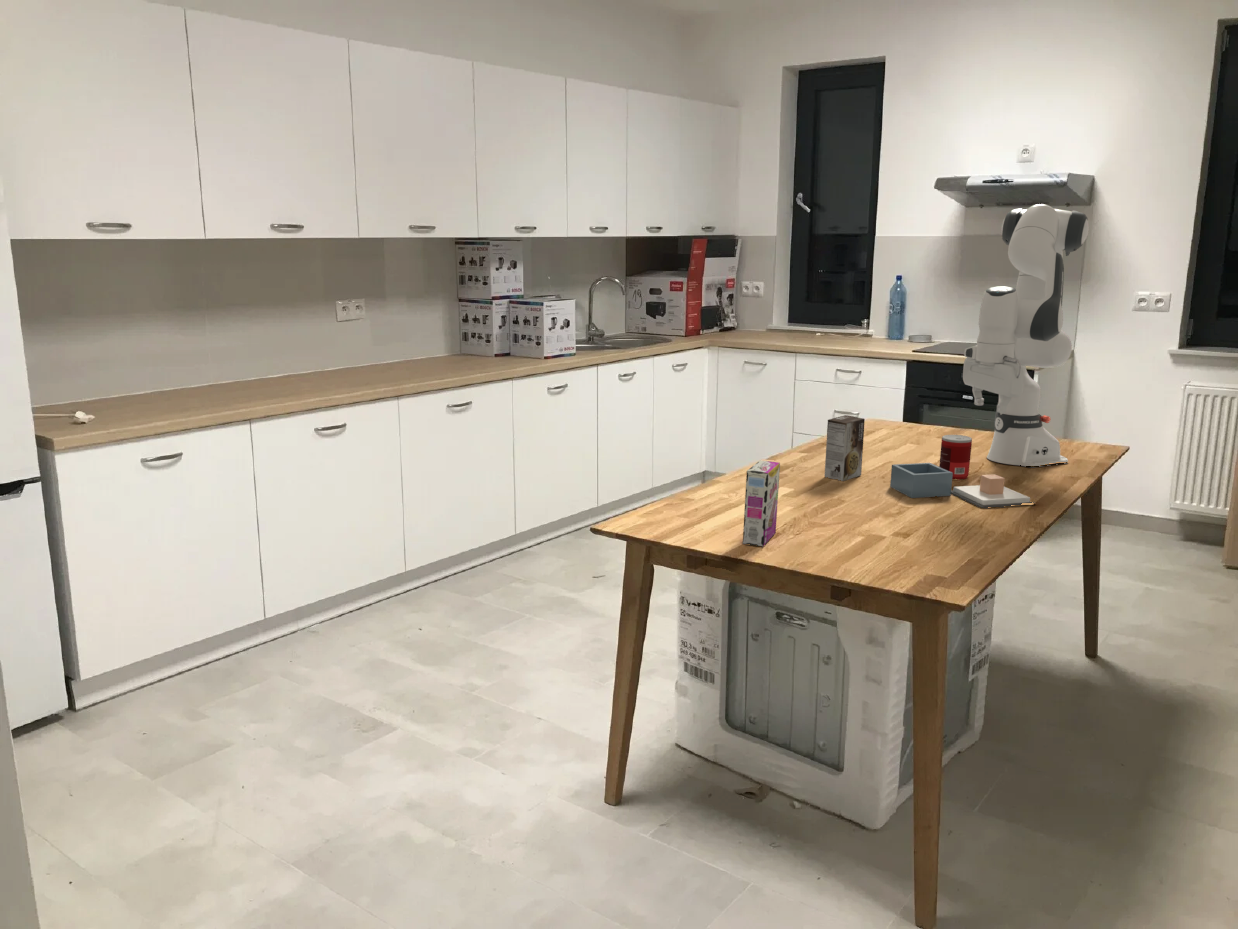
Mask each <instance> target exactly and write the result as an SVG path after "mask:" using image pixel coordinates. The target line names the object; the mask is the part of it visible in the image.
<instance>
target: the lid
mask: <svg viewBox="0 0 1238 929" xmlns="http://www.w3.org/2000/svg"><path fill="white" fill-rule="evenodd" d="M1005 479H1006V478H1005V477H1003V476H1000V475H997V474H995V473H994V474H981V475H980V481H979V482H980V483H979V485H978V484H977V485H963V486H953V491H954V492H956V493H958V494H960V495H962V496H964V497H967V498H969V499H971V500H973V501H975V502H977V503H979V504H981V505H994V504H1011V503H1027V502H1030V501H1031V497H1030V496H1027V495H1026V494H1022V493H1020V492H1018V491H1015V490H1014V489H1011V488H1008V487H1006V486H1005Z"/></svg>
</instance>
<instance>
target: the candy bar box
mask: <svg viewBox="0 0 1238 929" xmlns="http://www.w3.org/2000/svg"><path fill="white" fill-rule="evenodd" d="M780 469H781V463H780V462H777V461H769V460H759V461H757V462H756V463H755V464H753V465H752V466H751V467H749V469H747V470H746V478H745V479H746V480H745V494H744V514H743V529H742V530H743V532H742V533H743V534H742V545H745V544H750V545H749V546H751V545H757V546H756V547H758V546H762V547H761V548H764V547H765V546H764V545H767V544H768V543H769V541H770V540H771V539H772V538H773V537H774V535H775V534H776V531H777V518H778V517H777V515H778V514H777V513H778V502H779V501H778V500H779V499H778V498H779V488H780V487H779V486H780V485H779V484H780ZM770 538H771V539H770ZM769 539H770V540H769ZM763 546H764V547H763Z"/></svg>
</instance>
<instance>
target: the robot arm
mask: <svg viewBox="0 0 1238 929" xmlns="http://www.w3.org/2000/svg"><path fill="white" fill-rule="evenodd" d="M1088 220H1089V219H1088V217H1087V215H1086V214H1085V213H1083V212H1081V211H1077V210H1072V211H1070V210H1065V209H1060V208H1059V209H1058V208H1053V207H1052V206H1050V205H1048V204H1044V203H1041V204H1040V203H1039V204H1038V203H1037V204H1033V205H1031V206H1029V207H1028V208H1026V209H1024V208H1023V207H1021V208H1015V209H1011V210H1010V211H1009V212H1007V213H1006V215H1005V217H1004V218H1003V221H1002V223H1001V229H1000V230H1001V231H1000V233H1001V237H1002V238H1001V239H1002V241H1003V242H1004V243H1005V245H1007V246H1008V249H1007V250H1008V251H1007V256H1008V260H1009V261H1010V262H1009V263H1010V264H1011V265H1012V266H1013V267H1014V268H1015V269H1016V270H1017V271H1019V272H1018V277H1017V281H1016V286H1015V288H1014V287H1012V286H1006V285H1005V286H1003V285H1002V286H1001V285H999V286H991V287H989V288H987V289H986V290H984V292H983V296H982V298H981V299H982V300H981V303H980V308H979V315H978V328H979V329H978V330H979V334H978V336H977V338H976V339H977V340H976V345H973V346H969V347H967V348H964V352H963V356H964V357H965V359H964V361H963V368H962V369H963V370H962V380H963V383H964V385H966V386H968V387H969V386H970V387H972V394H973V397H974V400H973V401H974V402H973V404H974V405H975V406H979V407H980V406H984V404H985V403H984V402H985V398H983V391H987V392H989V393H993V394H997V395H998V402H997V404H996V410H995V417H994V433H993V438H992V440H991V445H990V449H989V451H988V454H987V456H986V458H987V459H988V460H989V461H992V462H995V463H998V464H999V463H1000V464H1004V465H1013V466H1020V465H1021V467H1026V466H1039V467H1041V466H1040V465H1045V464H1049V463H1056V462H1068V463H1069V460H1068V458H1067V457H1065V456H1063V455H1061V444H1060V441H1059V440H1058V439H1057V438H1056V437H1055V436H1054V435H1053V434H1051V433H1050V432H1049V431H1048V430H1047V429H1046V428H1045V427H1044V426H1043V423H1044V424H1045V423H1046V424H1049V423H1050V422H1051V417H1050V416H1048V415H1045V414H1044V415H1042V414H1040V413H1039V410H1040V403H1041V395H1042V394H1041V393H1042V389H1041V386H1040V384H1039V383H1038V382H1037V381H1035V380H1034V379H1033V378H1032V377H1031V376H1030V375H1029V373H1028V371H1027V367H1034V368H1040V369H1041V368H1042V369H1047V368H1058V367H1059V368H1061V367H1062V366H1063V365H1065V364H1066V363H1067V361H1068V360H1069V359H1070V357H1071V355H1072V350H1073V349H1072V346H1073V344H1072V340H1071V339H1070V337H1069V335H1068V334H1067V333H1066V332H1065V331H1064V329H1063V328H1062V327H1063V324H1064V312H1063V298H1064V297H1063V295H1064V294H1063V293H1064V280H1065V279H1064V278H1065V277H1064V276H1065V275H1064V274H1065V268H1064V267H1065V266H1064V257H1063V256H1064V254H1063V253H1065V256H1066V257H1068V256H1069V255H1070V254H1071V253H1073V252H1076V251H1077V250H1079V249H1080V248H1081V247H1083V245H1084V242H1085V241H1086V240H1087V237H1088V235H1089V232H1090V225H1089V221H1088ZM1064 251H1065V252H1064Z"/></svg>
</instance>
